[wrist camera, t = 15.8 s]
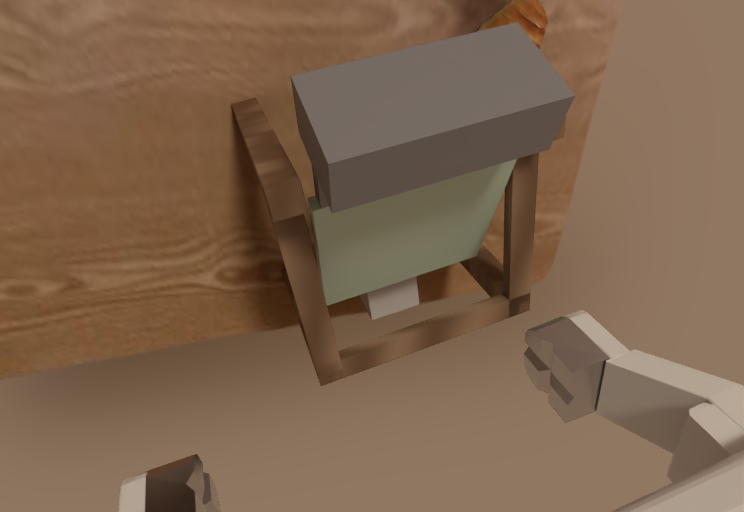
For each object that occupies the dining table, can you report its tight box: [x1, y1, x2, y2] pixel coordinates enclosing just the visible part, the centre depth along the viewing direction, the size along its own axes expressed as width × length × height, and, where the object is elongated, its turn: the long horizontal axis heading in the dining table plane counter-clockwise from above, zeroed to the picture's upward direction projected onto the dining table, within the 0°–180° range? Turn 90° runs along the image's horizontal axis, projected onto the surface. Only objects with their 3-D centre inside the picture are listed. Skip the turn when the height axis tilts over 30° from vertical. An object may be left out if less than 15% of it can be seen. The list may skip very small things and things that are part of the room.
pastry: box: [478, 0, 547, 49], centre depth 44 cm, size 9×7×4 cm
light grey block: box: [359, 276, 419, 320], centre depth 51 cm, size 5×5×6 cm
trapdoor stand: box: [231, 98, 566, 386], centre depth 41 cm, size 19×19×16 cm
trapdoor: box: [291, 22, 575, 306], centre depth 35 cm, size 14×21×6 cm, turn 9°
